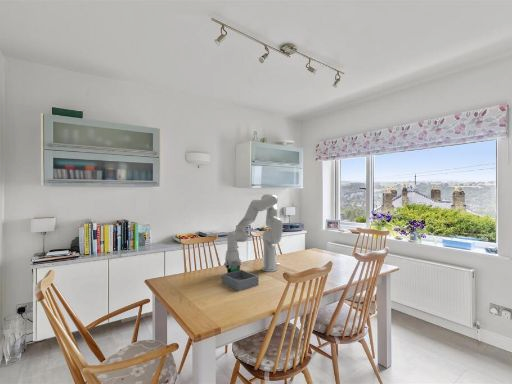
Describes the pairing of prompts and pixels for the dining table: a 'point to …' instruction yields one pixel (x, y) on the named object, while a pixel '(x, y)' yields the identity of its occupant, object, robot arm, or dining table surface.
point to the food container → (234, 266)
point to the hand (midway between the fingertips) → (232, 272)
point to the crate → (240, 280)
